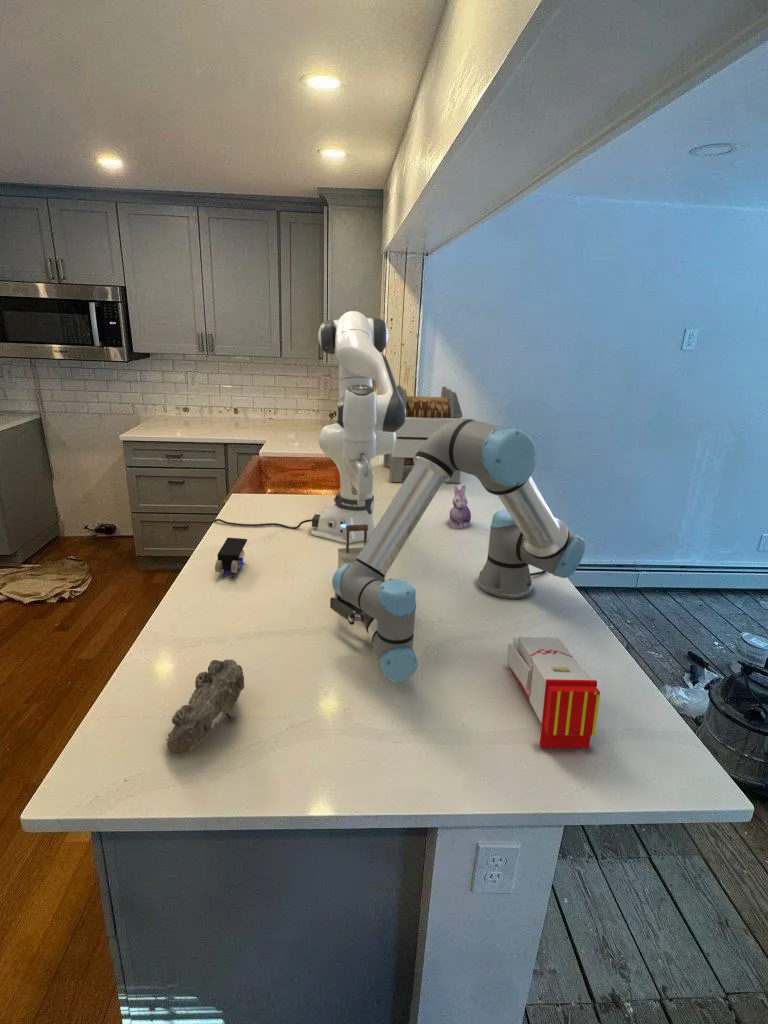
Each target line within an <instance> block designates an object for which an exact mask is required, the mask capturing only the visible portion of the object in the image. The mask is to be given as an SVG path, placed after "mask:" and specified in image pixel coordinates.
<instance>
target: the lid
mask: <svg viewBox="0 0 768 1024" xmlns="http://www.w3.org/2000/svg"><path fill="white" fill-rule="evenodd" d="M349 531H364V541H363V546H360V547H359V546H358V547H350V543H349ZM367 531H368V525H367V524H363V525H346V543H345V547H342V548H340V547H339V548H337V554H338V553H339V556H340V558H341V561H342V563H343V565H344V564H353V563H354V561H355V560H356V558H357V557H358V555H359V553H360V552H361V550H362V549H363V547H364V545H365V544H366V542H367V541H368V540H367Z"/></svg>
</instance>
